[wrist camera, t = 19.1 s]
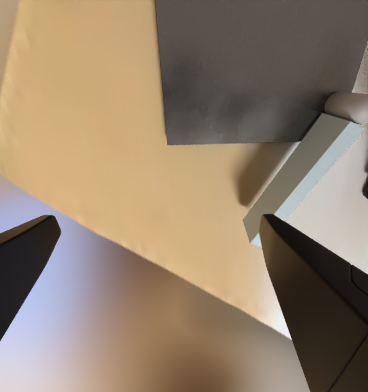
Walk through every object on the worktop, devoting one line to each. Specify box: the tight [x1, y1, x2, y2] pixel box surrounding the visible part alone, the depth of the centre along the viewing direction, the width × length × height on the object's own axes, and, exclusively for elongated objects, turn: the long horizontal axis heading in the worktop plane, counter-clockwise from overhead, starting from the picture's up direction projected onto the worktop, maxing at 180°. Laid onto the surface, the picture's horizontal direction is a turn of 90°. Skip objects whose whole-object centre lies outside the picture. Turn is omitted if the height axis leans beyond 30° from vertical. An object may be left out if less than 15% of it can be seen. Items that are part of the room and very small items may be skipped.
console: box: [155, 0, 368, 145], centre depth 16 cm, size 15×16×1 cm
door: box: [243, 92, 368, 248], centre depth 18 cm, size 14×2×4 cm, turn 156°
